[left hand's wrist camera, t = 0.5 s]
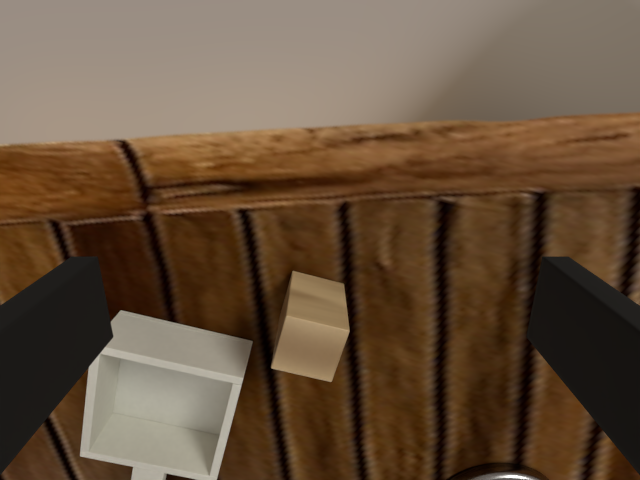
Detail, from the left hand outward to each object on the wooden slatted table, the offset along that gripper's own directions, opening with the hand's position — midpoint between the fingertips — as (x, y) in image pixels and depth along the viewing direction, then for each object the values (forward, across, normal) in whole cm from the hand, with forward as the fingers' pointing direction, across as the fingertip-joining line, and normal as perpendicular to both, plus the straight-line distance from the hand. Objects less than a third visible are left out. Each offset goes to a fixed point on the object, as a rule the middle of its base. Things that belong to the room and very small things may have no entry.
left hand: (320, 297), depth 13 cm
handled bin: (+24, +16, +28) cm, 41 cm away
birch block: (+24, +1, +13) cm, 27 cm away
